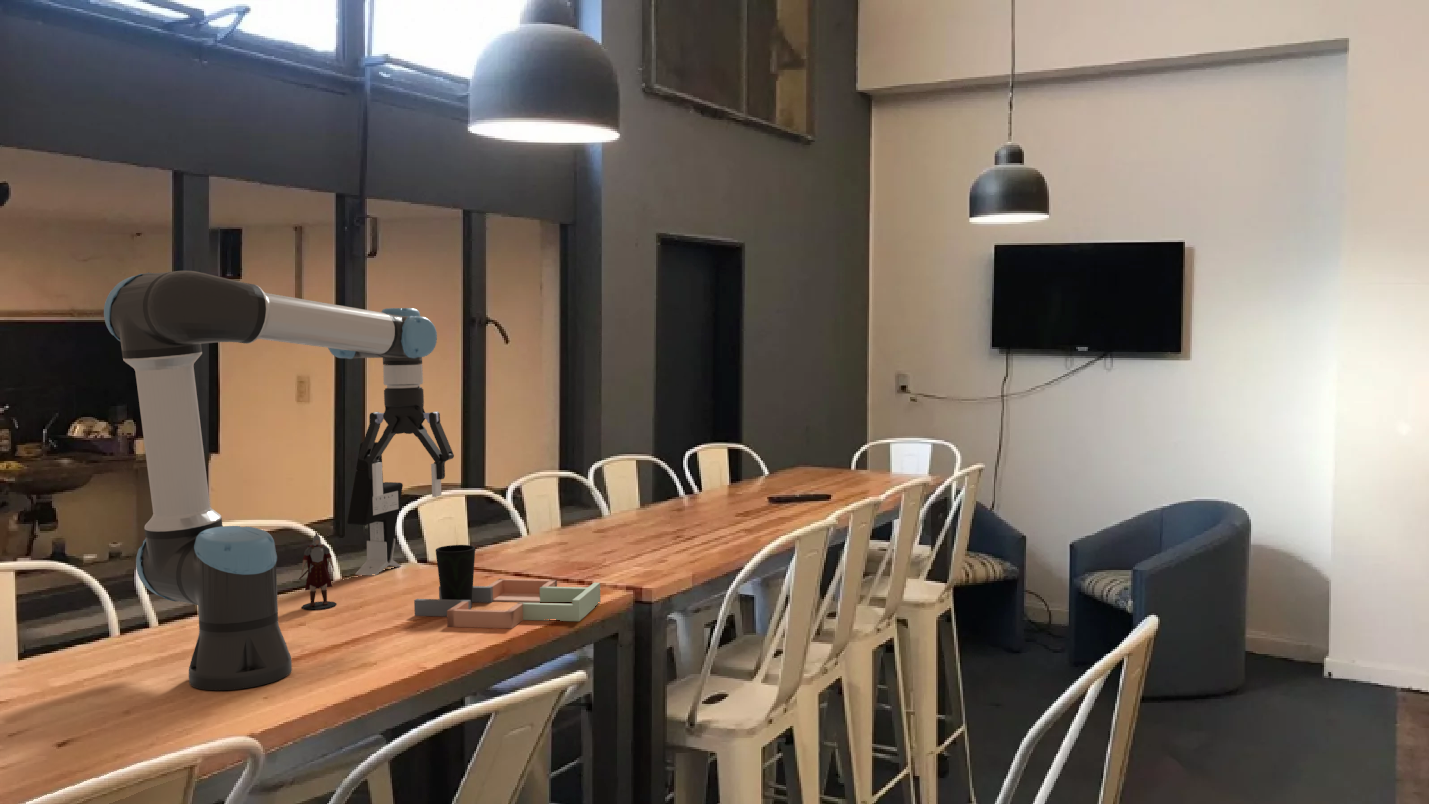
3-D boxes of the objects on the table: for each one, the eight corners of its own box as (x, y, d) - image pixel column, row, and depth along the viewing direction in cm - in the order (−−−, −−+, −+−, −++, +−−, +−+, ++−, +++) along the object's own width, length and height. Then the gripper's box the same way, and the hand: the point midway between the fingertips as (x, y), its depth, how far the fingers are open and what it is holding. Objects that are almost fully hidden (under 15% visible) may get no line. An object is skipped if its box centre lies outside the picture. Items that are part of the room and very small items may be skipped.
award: (367, 578, 253) (362, 445, 251) (347, 576, 255) (343, 444, 253) (406, 564, 268) (402, 438, 266) (387, 563, 269) (383, 438, 267)
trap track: (398, 625, 211) (397, 604, 210) (455, 591, 238) (455, 573, 238) (569, 629, 205) (569, 608, 205) (608, 595, 232) (608, 576, 232)
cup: (485, 606, 224) (483, 546, 224) (457, 614, 218) (455, 553, 217) (457, 602, 228) (455, 543, 228) (429, 610, 222) (427, 549, 221)
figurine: (302, 611, 222) (299, 536, 222) (299, 604, 229) (297, 531, 228) (338, 608, 225) (335, 533, 224) (334, 600, 232) (331, 528, 231)
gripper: (468, 385, 224) (472, 493, 225) (356, 386, 228) (360, 492, 229) (453, 386, 216) (457, 499, 218) (337, 388, 220) (341, 498, 222)
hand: (407, 495), depth 223 cm, fingers open, 12 cm apart
